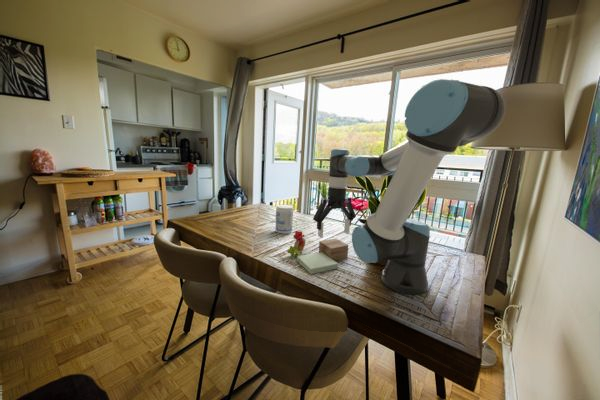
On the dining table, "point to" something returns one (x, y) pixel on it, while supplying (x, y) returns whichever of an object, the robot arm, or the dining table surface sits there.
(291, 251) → the bird rattle
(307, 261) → the base plate
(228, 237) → the dining table surface
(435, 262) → the dining table surface
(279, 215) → the supplement tub
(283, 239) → the dining table surface
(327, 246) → the walnut block
